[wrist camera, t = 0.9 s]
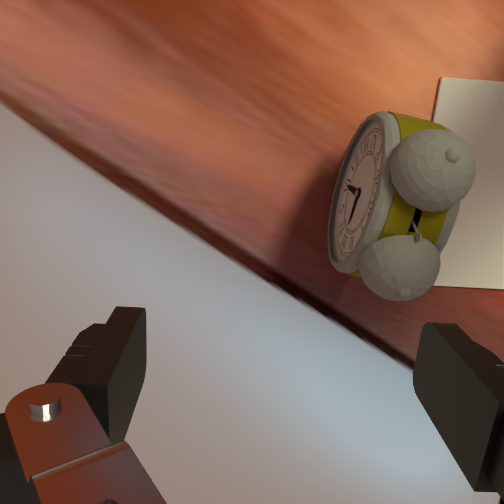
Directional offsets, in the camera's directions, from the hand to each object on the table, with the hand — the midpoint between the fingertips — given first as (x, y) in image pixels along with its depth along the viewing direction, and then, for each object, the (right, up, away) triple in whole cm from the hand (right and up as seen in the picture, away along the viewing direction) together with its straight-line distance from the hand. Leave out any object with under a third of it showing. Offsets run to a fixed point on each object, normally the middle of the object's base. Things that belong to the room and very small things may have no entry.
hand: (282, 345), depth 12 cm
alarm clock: (+9, +9, +27) cm, 30 cm away
